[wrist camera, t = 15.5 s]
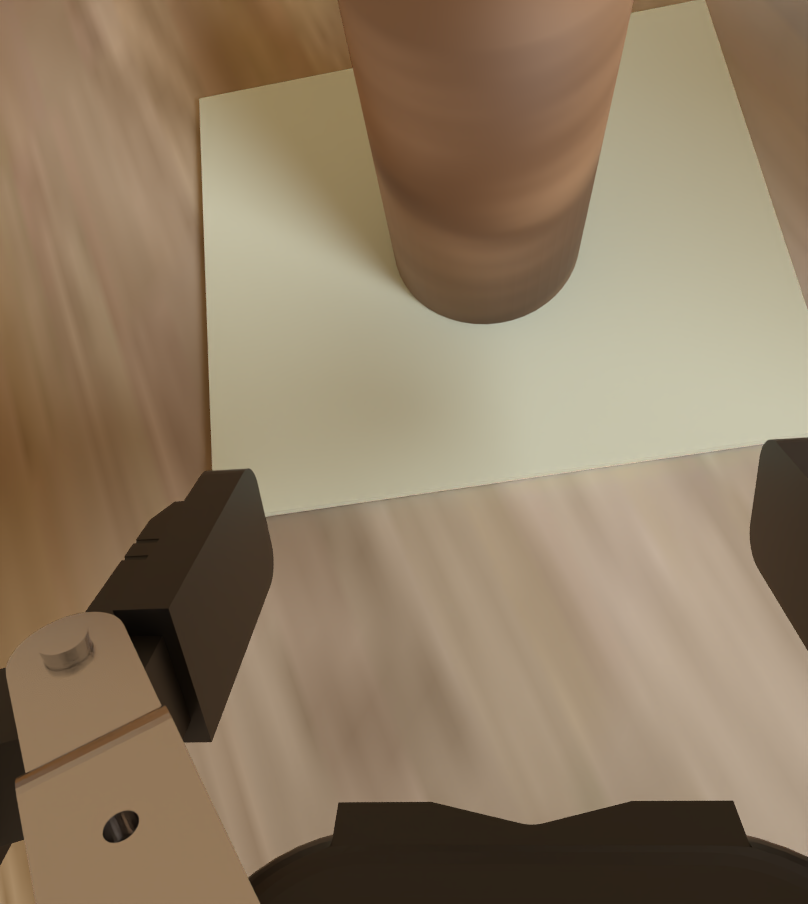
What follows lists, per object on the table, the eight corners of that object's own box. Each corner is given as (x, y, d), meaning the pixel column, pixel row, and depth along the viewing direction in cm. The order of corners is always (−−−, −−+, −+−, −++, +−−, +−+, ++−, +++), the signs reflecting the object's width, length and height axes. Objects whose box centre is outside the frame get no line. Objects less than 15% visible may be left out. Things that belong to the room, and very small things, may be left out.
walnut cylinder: (561, 150, 21) (612, -216, 12) (596, 307, 19) (685, 13, 11) (384, 180, 21) (315, -155, 13) (405, 337, 20) (341, 76, 11)
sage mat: (701, 10, 22) (704, -2, 22) (839, 433, 18) (846, 427, 17) (203, 107, 23) (199, 98, 23) (219, 523, 19) (214, 520, 19)
